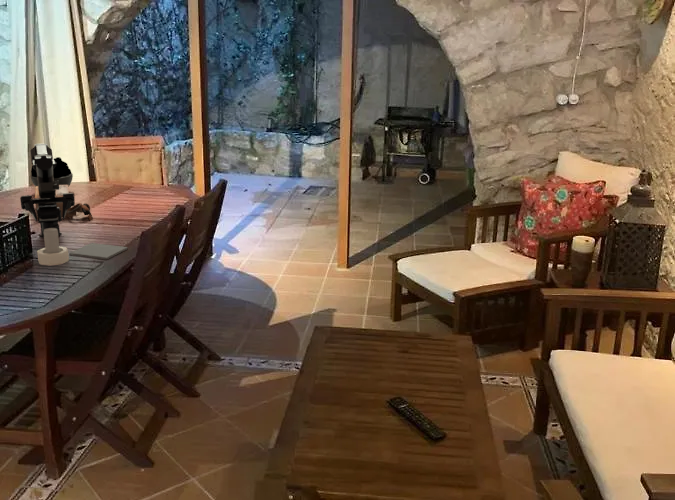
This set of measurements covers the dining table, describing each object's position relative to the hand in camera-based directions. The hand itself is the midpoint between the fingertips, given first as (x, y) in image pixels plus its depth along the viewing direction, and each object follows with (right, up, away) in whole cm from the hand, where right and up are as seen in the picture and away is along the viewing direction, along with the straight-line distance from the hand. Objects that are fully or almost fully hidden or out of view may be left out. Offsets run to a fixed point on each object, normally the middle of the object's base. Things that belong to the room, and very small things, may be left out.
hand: (50, 220), depth 253 cm
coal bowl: (-40, +18, +98) cm, 107 cm away
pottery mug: (-8, +3, +54) cm, 55 cm away
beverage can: (+3, -15, -3) cm, 16 cm away
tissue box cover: (-26, +7, +65) cm, 70 cm away
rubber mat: (+15, -12, +9) cm, 21 cm away
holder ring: (+3, -15, -3) cm, 16 cm away
